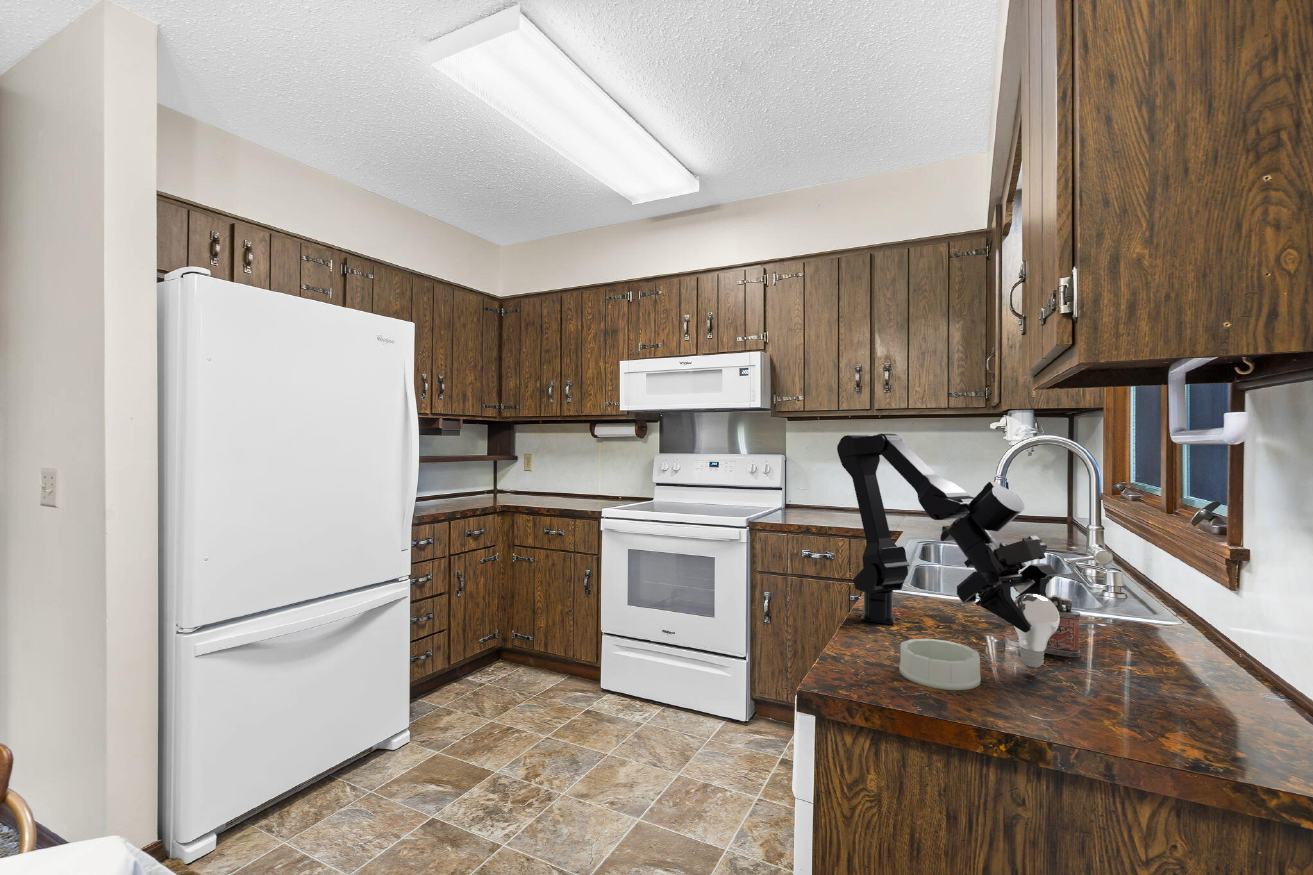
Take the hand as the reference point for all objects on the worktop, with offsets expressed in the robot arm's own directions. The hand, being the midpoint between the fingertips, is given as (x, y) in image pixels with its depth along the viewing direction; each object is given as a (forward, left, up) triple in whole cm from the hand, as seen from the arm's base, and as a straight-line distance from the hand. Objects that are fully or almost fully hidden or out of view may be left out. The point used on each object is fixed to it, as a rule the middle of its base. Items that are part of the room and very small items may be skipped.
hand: (1041, 628), depth 100 cm
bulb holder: (+6, -15, -8) cm, 18 cm away
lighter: (-15, +4, -8) cm, 17 cm away
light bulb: (-1, -1, -7) cm, 7 cm away
